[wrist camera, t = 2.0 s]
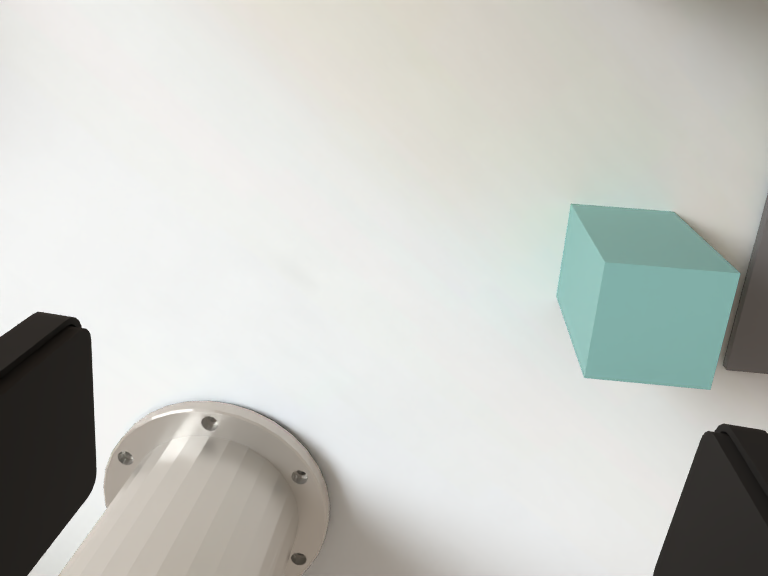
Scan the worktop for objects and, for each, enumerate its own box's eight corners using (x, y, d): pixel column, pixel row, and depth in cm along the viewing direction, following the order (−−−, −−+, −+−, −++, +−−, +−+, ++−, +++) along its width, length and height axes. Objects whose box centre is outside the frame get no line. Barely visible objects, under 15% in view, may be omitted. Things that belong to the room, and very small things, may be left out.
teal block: (653, 304, 33) (710, 389, 25) (556, 296, 33) (584, 377, 26) (673, 211, 31) (740, 273, 24) (570, 203, 31) (605, 262, 24)
